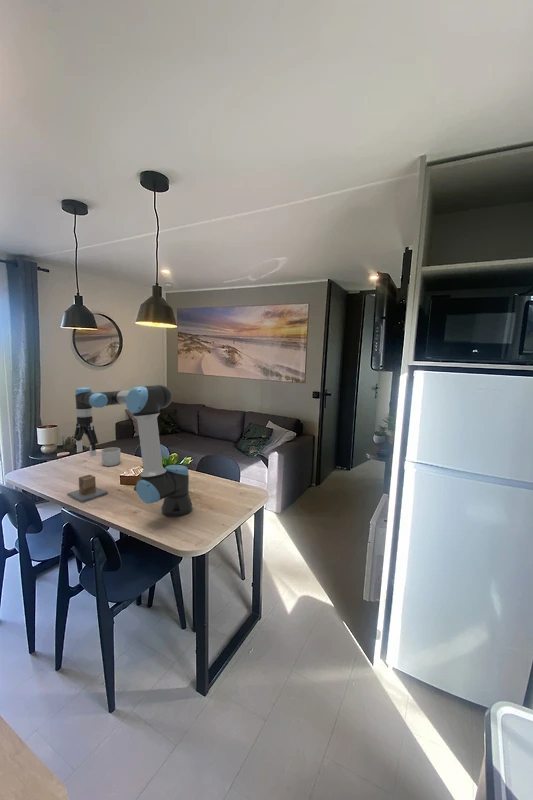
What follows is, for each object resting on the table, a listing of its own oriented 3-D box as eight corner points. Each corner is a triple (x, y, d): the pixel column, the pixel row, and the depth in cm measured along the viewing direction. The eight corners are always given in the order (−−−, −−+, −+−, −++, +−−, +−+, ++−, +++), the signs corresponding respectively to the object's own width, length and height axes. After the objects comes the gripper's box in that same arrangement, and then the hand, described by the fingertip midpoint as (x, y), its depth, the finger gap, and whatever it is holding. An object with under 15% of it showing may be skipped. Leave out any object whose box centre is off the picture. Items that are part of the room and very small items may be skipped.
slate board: (107, 494, 181) (107, 491, 181) (82, 503, 170) (82, 500, 169) (92, 487, 190) (92, 485, 190) (67, 495, 178) (67, 493, 178)
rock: (136, 489, 184) (153, 482, 190) (130, 475, 186) (147, 469, 192) (132, 494, 191) (148, 488, 198) (126, 482, 193) (142, 475, 200)
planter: (97, 466, 226) (97, 451, 225) (109, 461, 238) (108, 446, 237) (113, 467, 224) (113, 452, 223) (124, 462, 236) (123, 448, 235)
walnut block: (95, 492, 180) (95, 476, 179) (85, 495, 175) (84, 480, 174) (90, 489, 184) (89, 474, 183) (79, 493, 179) (78, 477, 178)
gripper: (104, 417, 171) (105, 456, 173) (79, 412, 184) (81, 448, 187) (90, 419, 164) (91, 459, 167) (65, 414, 178) (67, 451, 180)
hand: (86, 453), depth 177 cm, fingers open, 13 cm apart
